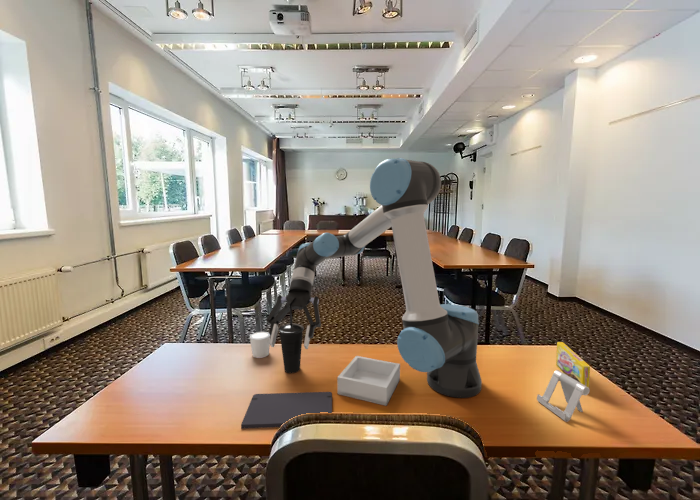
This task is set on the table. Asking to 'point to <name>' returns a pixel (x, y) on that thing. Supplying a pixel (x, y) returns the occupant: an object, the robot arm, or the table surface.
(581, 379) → the candy box
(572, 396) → the portable electronic device stand
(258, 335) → the white tapered cylinder
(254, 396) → the notebook
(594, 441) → the table surface
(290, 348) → the drinking cup
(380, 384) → the cup tray
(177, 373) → the table surface
